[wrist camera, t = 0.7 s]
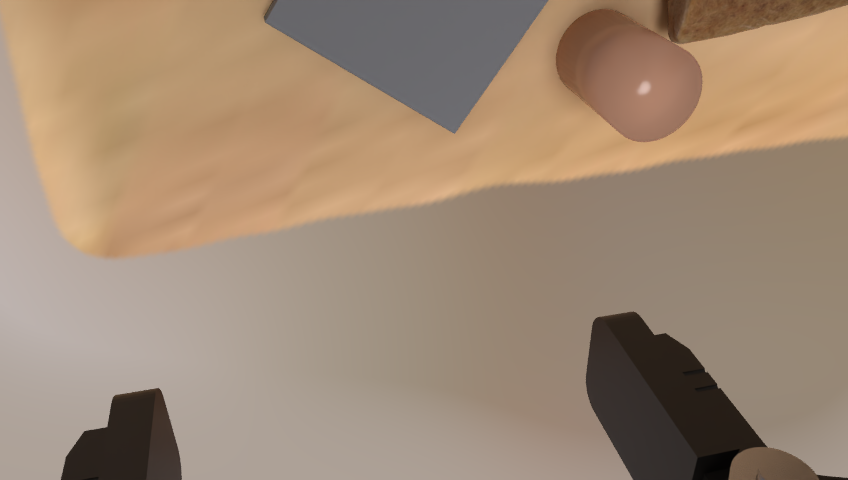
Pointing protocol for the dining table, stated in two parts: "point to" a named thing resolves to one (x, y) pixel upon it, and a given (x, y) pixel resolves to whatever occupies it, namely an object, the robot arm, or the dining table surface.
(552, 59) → the dining table surface
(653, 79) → the terracotta jar
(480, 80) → the mat
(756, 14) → the stone cup
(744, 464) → the robot arm
